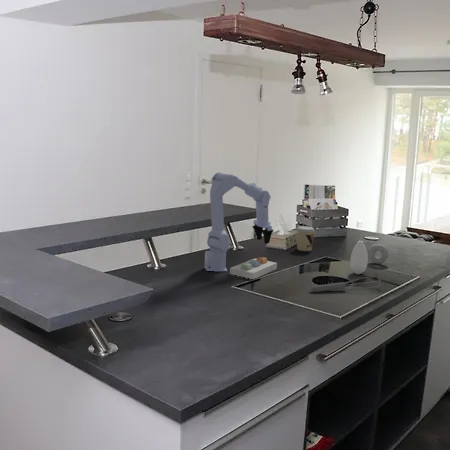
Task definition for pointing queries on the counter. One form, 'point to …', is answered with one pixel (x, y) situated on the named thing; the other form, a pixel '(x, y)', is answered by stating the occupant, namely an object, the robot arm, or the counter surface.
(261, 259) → the terracotta button
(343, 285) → the kitchen whisk
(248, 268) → the sage green button
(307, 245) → the coffee cup
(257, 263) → the slate blue button
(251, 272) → the button panel
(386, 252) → the donut
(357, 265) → the sauce bottle
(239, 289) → the counter surface
